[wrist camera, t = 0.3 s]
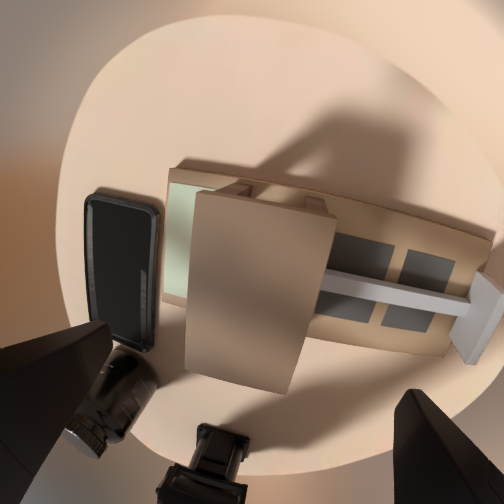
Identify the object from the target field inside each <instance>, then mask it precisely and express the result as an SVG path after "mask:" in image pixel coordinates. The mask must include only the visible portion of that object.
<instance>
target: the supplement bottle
mask: <svg viewBox="0 0 504 504" xmlns="http://www.w3.org/2000/svg"><path fill="white" fill-rule="evenodd" d="M156 389H157V378H156V375H155V373H154V372H153V370H152V368H151V367H150V366H149V365H148V364H147V363H146V362H145V361H144V360H143V359H142V358H140V357H139V356H138V355H136V354H134V353H132V352H130V351H127V350H121V349H118V350H113V351H112V352H111V353H110V355H109V357H108V359H107V361H106V363H105V364H104V366H103V368H102V370H101V372H100V374H99V376H98V377H97V379H96V381H95V383H94V385H93V386H92V388H91V390H90V391H89V393H88V394H87V396H86V397H85V399H84V400H83V401H82V403H81V404H80V406H79V407H78V409H77V410H76V412H75V413H74V415H73V416H72V418H71V420H70V421H69V423H68V424H67V426H66V427H65V429H64V430H63V432H62V433H61V435H62V436H63V438H65V440H66V441H67V442H68V443H69V444H71V445H72V446H73V447H74V448H75V449H77V450H78V451H79V452H81V453H82V454H84V455H86V456H87V457H89V458H92V459H95V460H98V459H100V457H101V456H102V454H103V453H104V452H105V451H106V450H107V448H108V444H107V443H109V444H117V443H120V442H122V441H123V440H124V439H125V438H126V437H127V435H128V434H129V432H130V430H131V429H132V427H133V426H134V424H135V423H136V421H137V419H138V418H139V416H140V415H141V413H142V412H143V410H144V409H145V407H146V405H147V404H148V402H149V401H150V399H151V398H152V396H153V394H154V393H155V391H156Z"/></svg>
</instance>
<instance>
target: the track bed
mask: <svg viewBox="0 0 504 504" xmlns="http://www.w3.org/2000/svg"><path fill="white" fill-rule="evenodd" d="M235 182H237V183H243V184H248V185H253V186H252V192H251V198H255V199H260V200H266V201H271V202H276V203H281V204H286V205H291V206H296V207H301V208H304V204H305V199H306V196H311V197H315V198H320V199H324V201H325V204H326V207H327V210H328V213H329V214H333V215H336V217H337V224H336V229H335V233H334V237H333V241H332V245H331V249H330V253H329V257H328V261H327V264H326V268H325V269H330V270H335V271H339V272H344V273H349V274H354V275H358V276H363V277H368V278H372V279H377V280H382V281H387V282H391V283H396V284H401V285H405V286H410V287H415V288H420V289H424V290H429V291H434V292H439V293H443V294H448V295H453V296H457V297H462V298H466V297H467V294H468V292H469V289H470V287H471V284H472V282H473V279H474V277H475V274H476V271H478V272H482V273H483V271H484V268H485V265H486V263H487V260H488V257H489V254H490V251H491V248H492V245H493V242H491V241H489V240H488V239H486V238H483V237H480V236H477V235H474V234H471V233H468V232H465V231H462V230H459V229H456V228H453V227H450V226H447V225H443V224H440V223H437V222H434V221H430V220H427V219H424V218H420V217H417V216H413V215H410V214H406V213H403V212H399V211H395V210H392V209H388V208H384V207H380V206H376V205H372V204H368V203H364V202H360V201H356V200H352V199H348V198H344V197H339V196H335V195H331V194H326V193H322V192H317V191H312V190H308V189H303V188H298V187H293V186H288V185H283V184H277V183H272V182H267V181H261V180H255V179H250V178H244V177H238V176H232V175H225V174H219V173H212V172H205V171H198V170H191V169H183V168H169V175H168V186H167V197H166V209H165V224H164V241H163V265H162V302H166V303H169V304H173V305H176V306H180V307H183V308H187V290H188V275H189V261H190V248H191V237H192V226H193V216H194V206H195V197H196V192H198V191H201V190H209V191H215V190H218V189H220V188H223V187H225V186H227V185H230V184H232V183H235ZM457 317H458V316H454V315H449V314H443V313H437V312H432V311H426V310H421V309H415V308H410V307H405V306H399V305H394V304H389V303H383V302H378V301H373V300H368V299H363V298H358V297H353V296H348V295H343V294H338V293H333V292H328V291H323V290H319V294H318V297H317V301H316V304H315V307H314V311H313V314H312V318H311V321H310V324H309V327H308V331H307V334H306V337H310V338H315V339H320V340H326V341H331V342H337V343H343V344H348V345H354V346H361V347H367V348H373V349H380V350H387V351H394V352H402V353H410V354H418V355H427V356H437V357H444V355H445V353H446V351H447V349H448V348H449V346H450V344H451V342H452V341H451V339H450V337H449V336H448V335H449V333H450V331H451V329H452V327H453V325H454V323H455V321H456V319H457Z"/></svg>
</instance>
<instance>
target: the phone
mask: <svg viewBox="0 0 504 504" xmlns="http://www.w3.org/2000/svg"><path fill="white" fill-rule="evenodd" d="M159 230H160V213H159V211H158V209H157V208H156V207H155V206H154V205H152V204H149V203H145V202H140V201H136V200H131V199H126V198H122V197H117V196H112V195H108V194H103V193H93V194H90V195H88V196H87V197H86V199H85V203H84V262H85V279H86V292H87V302H88V312H89V320H90V322H91V321H95V320H101V321H104V322H106V323H108V324H109V325H110V328H111V334H112V340H114V341H117V342H119V343H121V344H124V345H126V346H128V347H131V348H133V349H135V350H138V351H140V352H144V353H147V352H149V351H150V350H151V348H152V347H153V346H154V322H155V321H154V319H155V286H156V268H157V254H158V241H159Z"/></svg>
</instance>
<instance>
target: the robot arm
mask: <svg viewBox="0 0 504 504" xmlns="http://www.w3.org/2000/svg"><path fill="white" fill-rule="evenodd" d="M112 349H113V340H112V334H111V328H110V325H109V324H108V323H106V322H104V321H101V320H95V321H91V322H88V323H85V324H82V325H78V326H75V327H72V328H69V329H65V330H62V331H58V332H55V333H52V334H48V335H45V336H42V337H38V338H35V339H32V340H28V341H25V342H22V343H18V344H15V345H11V346H8V347H4V348H0V504H20V502H21V500H22V499H23V497H24V495H25V493H26V491H27V490H28V488H29V486H30V484H31V483H32V481H33V479H34V477H35V476H36V474H37V472H38V470H39V469H40V467H41V465H42V464H43V462H44V461H45V459H46V457H47V456H48V454H49V452H50V451H51V449H52V448H53V446H54V444H55V443H56V441H57V439H58V438H59V437H60V435H61V433H62V432H63V430H64V429H65V427H66V426H67V424H68V423H69V421H70V420H71V418H72V416H73V415H74V413H75V412H76V410H77V409H78V407H79V406H80V404H81V403H82V401H83V400H84V399H85V397H86V396H87V394H88V393H89V391H90V390H91V388H92V386H93V385H94V383H95V381H96V379H97V377H98V376H99V374H100V372H101V370H102V368H103V366H104V364H105V363H106V361H107V359H108V357H109V355H110V353H111V352H112ZM249 443H250V439H249V438H248V437H244V436H240V435H235V434H231V433H228V432H224V431H220V430H216V429H213V428H209V427H206V426H203V425H198V427H197V442H196V449H195V452H194V454H193V457H192V459H191V461H190V464H189V466H188V468H187V467H184V466H181V465H180V464H178V463H175V465H174V466H170V467H169V469H168V471H167V473H166V475H165V477H164V478H163V480H162V481H161V483H160V484H159V485H158V487H157V488H156V494H157V496H158V497H157V499H158V501H157V504H245V499H246V492H247V487H248V485H246V484H239V483H236V482H235V479H236V476H237V472H238V469H239V465H240V462H243V461H244V458H245V455H246V452H247V449H248V446H249ZM393 467H394V504H504V474H503V473H502V472H501V471H500V470H499V469H497V467H496V466H495V465H494V464H493V463H492V462H491V461H490V460H488V458H487V457H486V456H485V455H484V454H483V453H482V452H481V450H479V448H478V447H477V446H476V445H475V444H474V443H473V442H472V441H471V440H470V439H469V438H468V437H467V436H466V435H465V434H464V433H463V432H462V431H461V430H460V429H459V428H458V427H457V426H456V425H455V424H454V422H452V420H451V419H450V418H449V417H448V416H447V415H446V414H445V413H444V412H443V411H442V410H441V409H440V408H439V407H438V406H437V405H436V404H435V403H434V402H433V401H432V400H431V399H430V398H429V397H428V396H427V395H426V394H425V393H424V392H423V391H422V390H420V389H408V390H407V391H406V392H405V394H404V395H403V397H402V398H401V400H400V402H399V403H398V405H397V406H396V408H395V412H394V443H393Z"/></svg>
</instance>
